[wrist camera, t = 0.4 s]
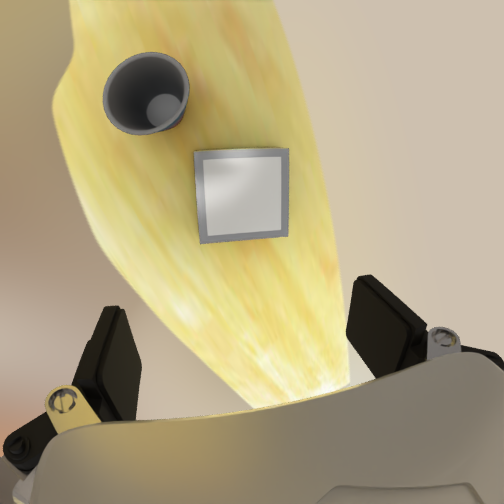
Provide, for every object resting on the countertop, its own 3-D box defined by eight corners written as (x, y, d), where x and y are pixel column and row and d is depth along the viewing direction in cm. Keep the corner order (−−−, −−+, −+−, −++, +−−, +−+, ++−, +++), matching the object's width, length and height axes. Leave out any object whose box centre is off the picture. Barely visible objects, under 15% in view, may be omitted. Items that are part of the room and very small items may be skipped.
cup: (202, 105, 32) (208, 82, 19) (168, 147, 34) (150, 152, 20) (161, 75, 30) (141, 37, 16) (127, 118, 31) (86, 106, 17)
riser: (193, 150, 34) (193, 152, 31) (279, 147, 36) (289, 148, 32) (199, 233, 39) (200, 244, 35) (279, 227, 40) (288, 236, 37)
